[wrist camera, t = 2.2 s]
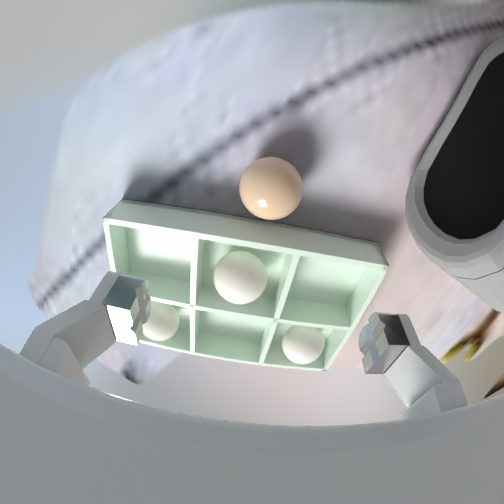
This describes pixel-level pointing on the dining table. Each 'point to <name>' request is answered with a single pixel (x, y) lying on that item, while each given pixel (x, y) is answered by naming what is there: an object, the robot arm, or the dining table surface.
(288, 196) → the brown egg
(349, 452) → the robot arm
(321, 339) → the cream egg
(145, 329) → the cream egg
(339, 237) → the egg tray
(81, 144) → the dining table surface
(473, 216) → the alarm clock
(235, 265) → the cream egg
